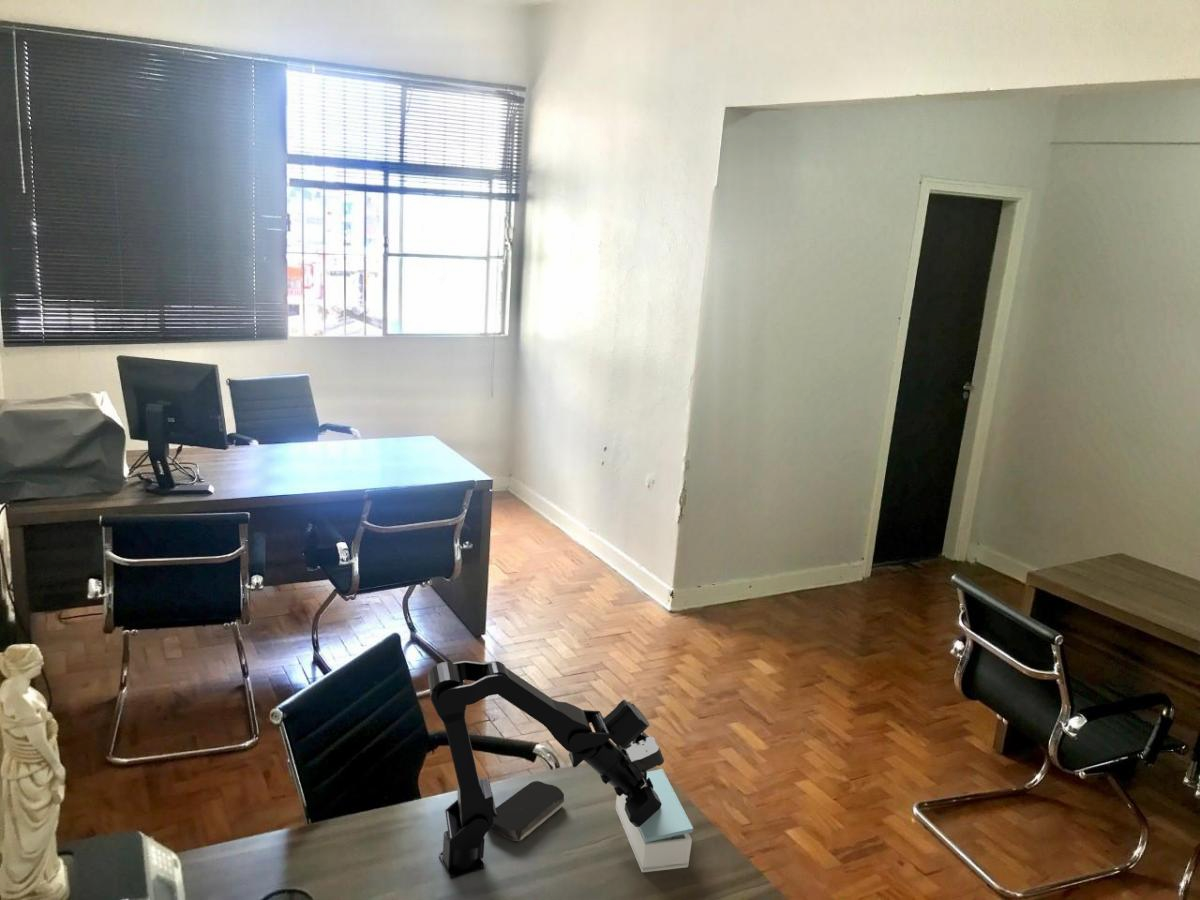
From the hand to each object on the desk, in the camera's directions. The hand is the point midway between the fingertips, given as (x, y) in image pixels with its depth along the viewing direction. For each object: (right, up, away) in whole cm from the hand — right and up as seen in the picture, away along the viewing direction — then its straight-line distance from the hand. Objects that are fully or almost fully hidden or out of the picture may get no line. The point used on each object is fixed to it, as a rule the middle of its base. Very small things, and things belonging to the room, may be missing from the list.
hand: (657, 805), depth 169 cm
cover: (-1, -1, +2) cm, 2 cm away
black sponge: (-26, -5, +6) cm, 27 cm away
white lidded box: (-1, -7, +4) cm, 8 cm away
